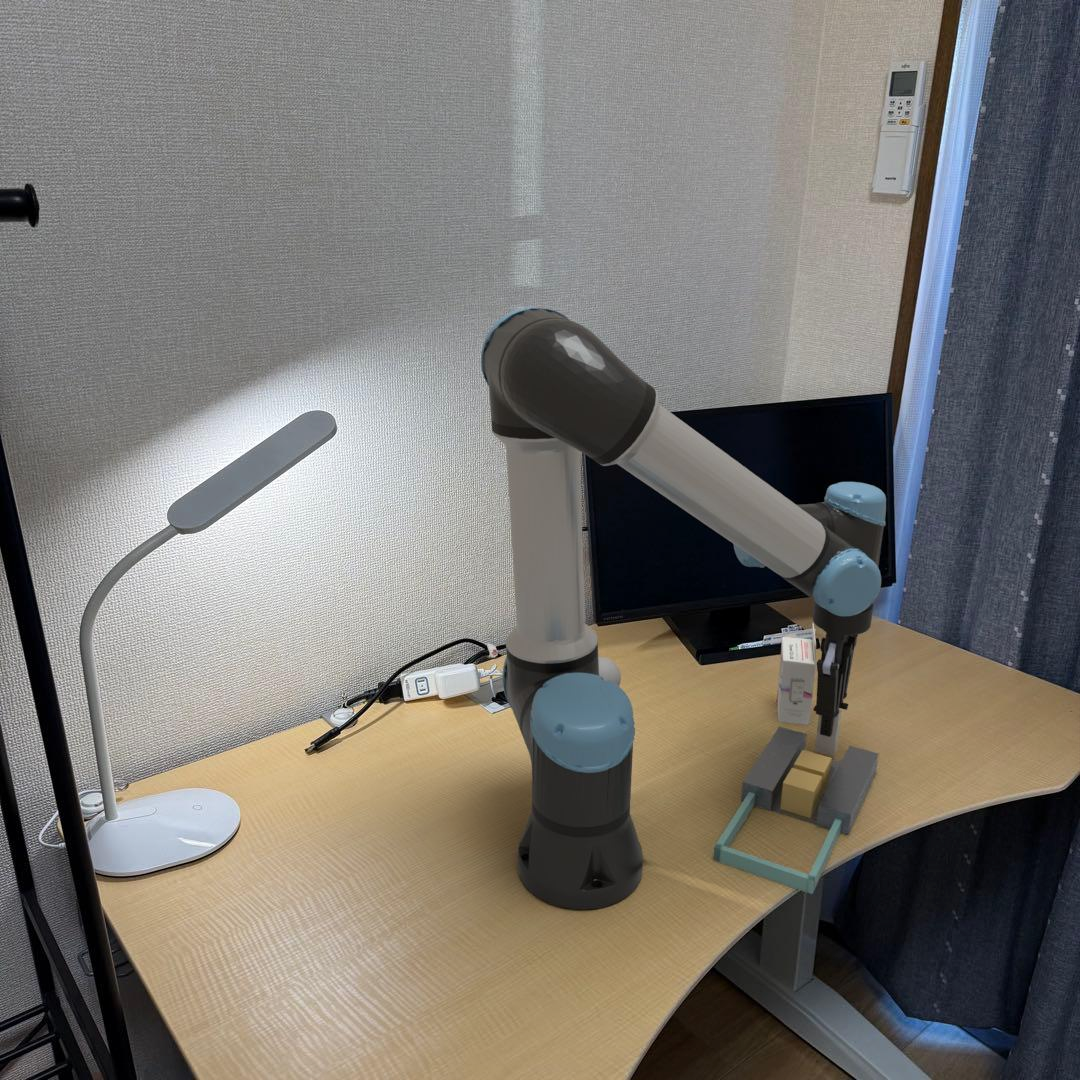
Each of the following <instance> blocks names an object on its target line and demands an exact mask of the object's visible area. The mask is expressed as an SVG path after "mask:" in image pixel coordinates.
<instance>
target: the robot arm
mask: <svg viewBox="0 0 1080 1080" xmlns="http://www.w3.org/2000/svg"><path fill="white" fill-rule="evenodd" d="M480 367H481V368H480V369H481V372H482V374H483V378H484V381H485V383H486V384H487V386H488V392H489V393H488V394H489V407H490V420H491V432H492V434H493V435H494V436H495V437H496V438H497V439H498V440H499V441H500V442H501V443H503V445H505V450H506V465H507V468H506V469H507V481H508V482H507V484H508V496H509V497H508V501H509V515H510V516H509V517H510V533H511V536H510V537H511V548H512V549H511V550H512V551H511V552H512V566H513V567H512V568H513V581H514V583H513V584H514V598H515V599H514V600H515V617H516V618H515V619H516V627H515V628H514V629H513V630H511V632H510V633H508V636H506V640H505V648H506V657H505V659H504V662H503V667H502V688H503V693H504V695H505V699H506V701H507V704H508V705H509V707H510V709H511V710H512V713H513V715H514V718H515V721H516V723H517V725H518V728H519V730H520V732H521V736H522V738H523V740H524V744H525V746H526V748H527V749H526V750H527V752H528V753H529V758H530V763H531V811H530V814H529V817H528V819H527V822H526V825H525V827H524V830H523V832H522V835H521V838H520V841H519V843H518V845H517V846H518V847H517V873H518V877H519V878H520V881H521V882H522V884H523V886H524V887H525V888H526V889H527V890H528V891H529V892H530V893H531V894H532V895H534V896H535V897H537V898H538V899H540V900H542V901H544V902H546V903H548V904H550V905H553V906H557V907H560V908H563V909H564V908H565V909H572V910H592V909H599V908H603V907H608V906H611V905H613V904H616V903H619V902H620V901H622V900H623V899H625V898H627V897H628V896H629V895H630V894H632V893H633V892H634V891H635V890H636V888H637V887H638V885H639V883H640V881H641V878H642V875H643V864H644V863H643V860H644V859H643V857H644V856H643V855H644V854H643V848H642V844H641V842H640V841H639V840H640V839H639V836H638V834H637V831H636V827H635V825H634V822H633V821H634V820H633V819H632V816H631V800H632V799H631V796H632V793H631V792H632V774H633V755H634V752H633V751H634V740H635V735H636V728H635V725H636V724H635V719H634V710H633V705H632V701H631V700H630V698H629V696H628V694H627V693H626V692H625V691H624V689H622V688H621V687H620V685H619V686H618V685H616V684H615V683H613V682H612V681H610V680H609V681H604V680H603V677H601V676H599V662H598V657H599V641H598V639H599V638H598V634H597V632H596V631H595V629H593V628H592V627H590V626H589V625H588V624H587V623H586V612H585V611H586V608H585V607H586V606H585V604H586V603H585V582H584V581H585V574H584V552H583V550H584V546H583V515H582V513H583V511H582V485H581V484H582V483H581V482H582V480H581V457H580V456H581V454H580V452H581V453H582V454H584V455H586V456H587V457H588V458H590V459H592V460H594V461H595V462H596V463H597V464H599V465H601V466H602V467H608V466H613V465H617V466H619V467H621V468H622V469H624V470H625V471H626V472H628V473H630V474H631V475H632V476H634V477H635V478H636V479H638V480H640V481H641V482H643V483H644V484H645V485H647V486H648V487H650V488H651V489H653V490H655V491H656V492H658V493H659V494H660V495H662V496H663V497H665V498H666V499H668V500H669V501H671V502H672V503H673V504H675V505H677V506H678V507H679V508H681V509H682V510H684V511H685V512H686V513H688V514H690V515H691V516H692V517H693V518H695V519H697V520H698V521H700V522H701V523H703V524H704V525H705V526H707V527H708V528H710V529H712V530H713V531H714V532H716V533H717V534H718V535H720V536H722V537H723V538H725V539H726V540H727V541H729V542H731V543H732V544H733V549H734V553H735V555H736V558H737V559H738V561H739V562H740V563H741V564H742V566H745V567H748V568H754V567H755V568H761V569H762V568H765V567H767V568H768V569H770V570H771V571H773V572H774V573H776V574H777V575H778V576H780V577H782V579H783V580H785V581H786V582H788V583H790V584H791V585H792V586H794V587H796V588H797V589H798V590H800V591H801V592H803V593H804V594H805V595H807V596H808V597H809V598H811V599H812V600H813V601H814V603H813V611H812V621H813V623H814V625H816V626H817V627H818V628H819V629H821V630H823V631H824V632H825V637H822V638H821V641H820V652H821V656H820V658H819V659H818V660H817V661H816V670H817V671H816V672H817V678H816V679H817V685H816V700H815V701H816V704H815V705H814V707H813V709H812V710H813V712H815V715H818V720H817V728H816V735H815V737H816V738H815V744H814V745H815V746H814V751H815V752H819V753H822V754H825V755H828V756H833V757H834V756H835V755H836V753H837V750H838V743H839V734H840V727H841V719H842V710H845V711H847V710H848V708H849V703H847V702H844V700H845V699H846V697H848V686H849V681H850V676H851V675H850V674H851V669H852V664H853V657H854V652H855V648H856V645H857V639H858V636H859V635H861V634H863V633H864V634H865V633H866V632H867V631H868V630H869V629H870V627H871V625H872V619H873V618H872V617H873V610H874V604H873V602H874V601H875V600H876V598H877V597H878V595H879V594H880V593H879V592H880V590H881V586H882V575H881V570H880V569H879V565H880V558H881V557H880V556H881V549H882V544H883V536H884V531H885V526H886V515H887V514H886V513H887V497H886V494H885V493H884V492H883V491H882V489H880V488H879V487H877V486H875V485H871V484H868V483H865V482H860V481H858V482H857V481H840V482H837V483H834V484H831V485H829V486H828V488H827V489H826V491H825V492H826V493H825V496H824V499H823V502H816V503H815V502H814V503H808V504H807V503H805V504H796V503H794V501H792V500H791V499H789V498H788V497H786V496H785V495H783V493H781V492H780V491H778V490H777V489H775V488H774V487H773V486H771V485H770V484H769V483H768V482H766V481H765V480H763V479H762V478H761V477H759V476H758V475H756V474H755V473H754V472H752V471H750V469H748V468H747V467H746V466H744V465H742V463H740V462H739V461H738V460H736V459H735V458H733V457H731V456H730V455H729V454H728V453H727V452H725V451H724V450H723V449H721V448H720V447H718V446H716V445H715V443H713V442H711V441H710V440H709V439H707V438H706V437H705V436H703V435H702V434H700V433H699V432H698V431H696V430H695V429H694V428H692V427H691V426H689V425H688V424H687V423H686V422H684V421H683V420H682V419H680V418H679V417H677V416H676V415H675V414H673V413H672V412H671V411H669V410H668V409H666V408H665V407H664V406H662V405H661V404H660V401H659V393H658V390H657V389H655V387H654V386H652V385H651V384H649V383H648V382H646V381H645V380H644V379H642V377H641V376H639V375H638V374H636V372H634V371H633V370H632V369H631V368H630V367H629V366H628V365H627V364H625V363H624V362H623V361H622V359H620V358H619V357H618V356H617V355H616V354H615V353H614V352H613V351H612V350H611V349H610V347H608V346H607V345H606V344H605V343H604V342H603V340H601V339H600V338H599V337H598V336H597V335H596V334H595V333H594V332H592V331H591V330H590V329H588V328H587V327H585V326H584V325H582V324H580V323H578V322H575V321H573V320H571V319H570V318H569V317H568V316H566V315H565V314H564V313H561V312H560V311H556V310H555V309H551V308H548V307H543V308H541V307H523V308H518V309H515V310H513V311H511V312H509V313H506V314H505V315H503V316H502V317H501V318H499V319H498V320H497V321H496V322H495V324H493V325H492V327H491V328H490V330H489V331H488V333H487V334H486V336H485V339H484V341H483V344H482V347H481V354H480ZM840 709H841V710H840Z"/></svg>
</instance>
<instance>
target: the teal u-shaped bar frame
mask: <svg viewBox="0 0 1080 1080" xmlns="http://www.w3.org/2000/svg"><path fill="white" fill-rule="evenodd" d="M754 802H755V794H754V793H751V792H749V793H748V795H747V796H746V798H745V799H744V801H743V802H741V804H740V806H739V807H738V809H737V811H735V814H734V815H733V817H732V818H731V820H730V822H729V823H728V825H727V827H726V828H725V830H724V831H723V832H722V834H721V836H720V837H719V839H718V840H717V842H716V844H715V845H714V847H713V861H715V862H718V863H722V864H725V865H727V866H729V867H733V868H736V869H739V870H741V871H745V872H747V873H750V874H753V875H756V876H759V877H762V878H764V879H767V880H769V881H773V882H776V883H779V884H781V885H784V886H787V887H791V888H793V889H795V890H798V891H801V892H804V893H807V894H810V895H813V893H814V891H815V890H816V887H817V885H818V882H819V880H820V878H821V876H822V875H823V872H824V869H825V867H826V865H827V862H828V860H829V858H830V856H831V855H832V852H833V850H834V847H835V845H836V843H837V841H838V839H839V837H840V835H841V833H840V831H841V823H842V820H839V819H836V818H835V820H834V823H833V825H832V827H831V829H829V831H828V833H827V835H826V837H825V840H824V842H823V844H822V845H821V848H820V850H819V852H818V854H817V857H816V859H815V860H814V863H813V865H812V868H811V870H810V871H809V873H808V874H807V873H805V872H802V871H799V870H796V869H793V868H790V867H787V866H785V865H784V866H783V865H781V864H778V863H776V862H773V861H769V860H768V859H767V860H766V859H763V858H760V857H758V856H754V855H752V854H749V853H746V852H743V851H739V850H738V849H734V848H731V847H730V846H731V844H732V843H733V841H734V839H735V838H736V836H737V834H738V833H739V831H740V829H741V828H742V826H743V825H744V823H745V821H746V820H747V818H748V817H749V815H750V813H752V810H753V808H754V807H755V806H754Z"/></svg>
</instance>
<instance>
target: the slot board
mask: <svg viewBox="0 0 1080 1080" xmlns="http://www.w3.org/2000/svg"><path fill="white" fill-rule="evenodd" d="M807 736H808V734H807V733H804V732H801V731H798V730H793V729H790V728H786V727H782V726H778V727H777V729H776V731H775V732H774V733H773V735H772V737H771V738H770V739H769V741H768V742H767V744H766V746H765V747H764V749H763V751H762V752H761V753H760V755H759V757H758V758H757V759H756V760H755V763H754V764H753V765H752V767H751V769H750V770H749V772H748V773H747V774H746V776H745V777H744V779H743V781H742V786H741V795H740V802H741V803H743V801H744V799H745V798H746V796H747V795H748V793H749V792H751V793H754V794H755V802H754V807H756V808H760V809H763V810H766V811H769V812H772V813H777V814H780V815H783V816H784V817H785V816H786V817H788V818H792V819H795V820H799V821H802V822H806V823H808V824H810V825H811V824H812V825H814V826H817V827H820V828H824V829H828V830H830V829H831V827H832V825H833V823H834V820H835V818H836V819H839V820H842V823H841V831H840V834H843V835H846V836H849V835H850V833H851V831H852V828H853V826H854V824H855V821H856V819H857V816H858V815H859V812H860V810H861V807H862V805H863V803H864V801H865V798H866V796H867V795H868V792H869V789H870V788H871V784H872V783H873V780H874V778H875V775H876V773H877V769H878V763H879V762H878V761H879V755H880V754H879V753H878V752H874V751H871V750H868V749H864V748H859V747H856V746H853V745H848V747H847V750H846V752H845V753H844V755H843V757H842V759H841V761H838V760H835V759H832V762H831V770H830V778H829V784H828V786H827V788H826V790H825V792H824V794H823V796H822V797H821V798H820V799H819V803H818V805H817V807H816V809H815V811H814V813H813V815H812V817H811V818H808V817H805V816H802V815H799V814H795V813H792V812H789V811H786V810H783V809H780V807H781V798H782V788H783V782H784V780H785V779H786V777H787V775H788V774H789V772H790V770H791V768H794V763H795V762H796V760H797V758H798V757H799V755H800V753H801V751H802V750H805V751H806V743H807V742H806V741H807Z"/></svg>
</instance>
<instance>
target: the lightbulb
mask: <svg viewBox="0 0 1080 1080" xmlns="http://www.w3.org/2000/svg"><path fill="white" fill-rule="evenodd" d="M598 662H599V676H601V677H603V680H604V681H609V680H610V681H612V682H613V683H615V684H616V685H618V686H619V687H620V685H621V681H622V674H621V671H620V668H619V666H618V665H617V664H616V663H615V662H614V661H613V660H612V659H610V658H608V657H604V656H601V657H600V656H598Z"/></svg>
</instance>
